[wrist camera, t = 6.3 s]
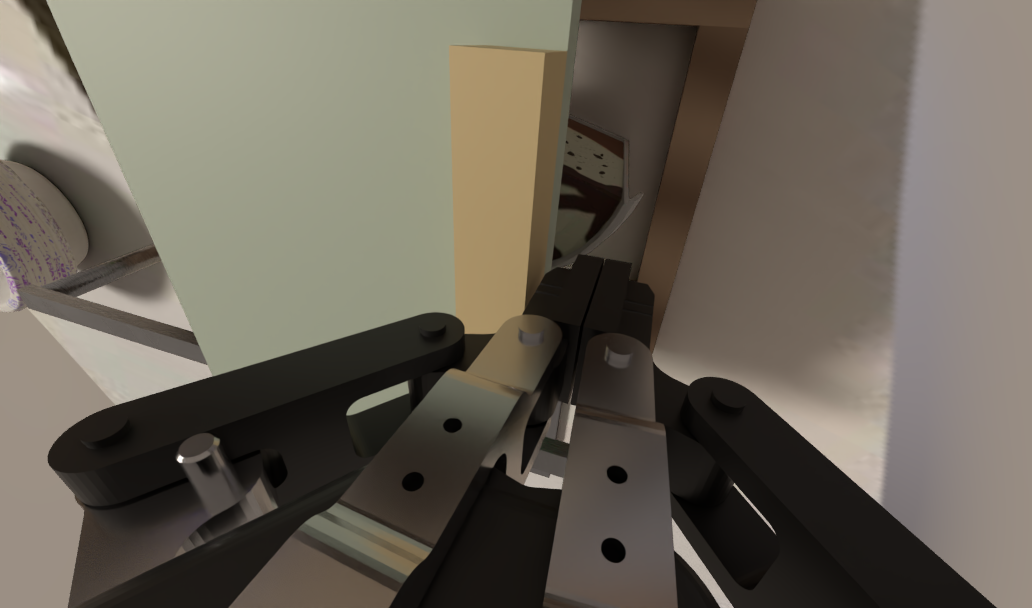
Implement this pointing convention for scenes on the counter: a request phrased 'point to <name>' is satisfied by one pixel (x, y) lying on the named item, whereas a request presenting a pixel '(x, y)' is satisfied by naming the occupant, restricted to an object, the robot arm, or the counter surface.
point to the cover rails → (166, 325)
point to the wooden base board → (684, 120)
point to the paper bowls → (35, 233)
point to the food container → (591, 190)
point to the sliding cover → (335, 157)
